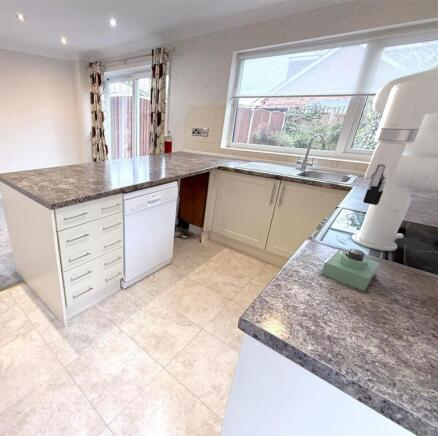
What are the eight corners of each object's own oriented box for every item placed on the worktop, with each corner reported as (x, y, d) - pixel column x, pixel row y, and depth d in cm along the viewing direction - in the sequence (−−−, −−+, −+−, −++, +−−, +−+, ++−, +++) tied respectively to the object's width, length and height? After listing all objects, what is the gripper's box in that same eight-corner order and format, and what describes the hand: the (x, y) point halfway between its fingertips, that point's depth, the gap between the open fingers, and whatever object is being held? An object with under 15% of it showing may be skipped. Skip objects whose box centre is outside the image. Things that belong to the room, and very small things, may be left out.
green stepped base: (334, 260, 79) (340, 243, 76) (374, 274, 71) (382, 257, 69) (321, 273, 71) (327, 256, 69) (364, 291, 64) (372, 272, 62)
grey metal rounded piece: (348, 253, 72) (350, 247, 71) (363, 258, 69) (366, 252, 68) (344, 257, 70) (347, 251, 69) (360, 262, 67) (363, 256, 66)
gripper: (382, 133, 70) (360, 194, 77) (369, 137, 61) (346, 206, 69) (419, 134, 65) (392, 200, 72) (411, 139, 56) (382, 213, 63)
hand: (370, 203), depth 70 cm, fingers closed
